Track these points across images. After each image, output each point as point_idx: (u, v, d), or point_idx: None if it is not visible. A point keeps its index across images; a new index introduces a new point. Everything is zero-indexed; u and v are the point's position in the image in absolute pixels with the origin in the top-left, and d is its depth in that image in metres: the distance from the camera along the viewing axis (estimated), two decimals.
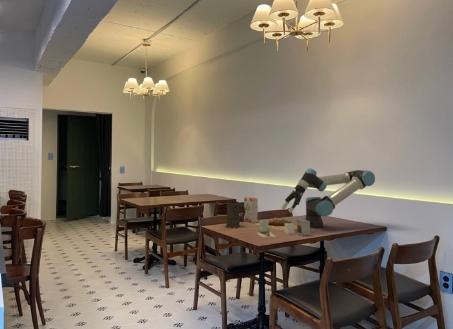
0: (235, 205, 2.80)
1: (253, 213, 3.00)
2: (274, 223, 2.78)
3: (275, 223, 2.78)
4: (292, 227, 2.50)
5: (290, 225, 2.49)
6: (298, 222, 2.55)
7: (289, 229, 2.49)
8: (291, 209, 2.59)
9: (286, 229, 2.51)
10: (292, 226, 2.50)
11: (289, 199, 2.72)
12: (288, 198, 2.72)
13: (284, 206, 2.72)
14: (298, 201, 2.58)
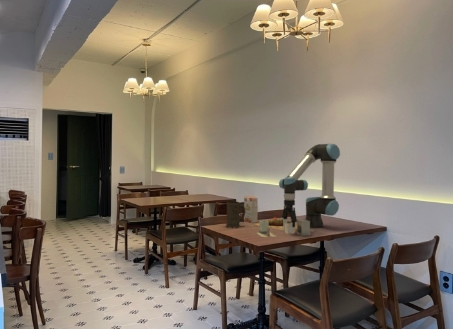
0: (235, 205, 2.80)
1: (253, 213, 3.00)
2: (274, 223, 2.78)
3: (275, 223, 2.78)
4: None
5: (290, 225, 2.49)
6: (298, 222, 2.55)
7: (289, 229, 2.49)
8: (293, 228, 2.45)
9: (286, 229, 2.51)
10: None
11: (285, 215, 2.57)
12: (284, 215, 2.57)
13: None
14: (294, 218, 2.42)
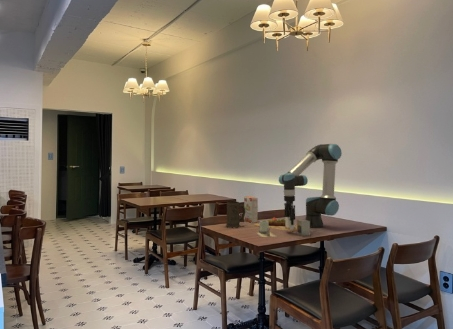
0: (235, 205, 2.80)
1: (253, 213, 3.00)
2: (274, 223, 2.78)
3: (275, 223, 2.78)
4: None
5: None
6: (298, 222, 2.55)
7: None
8: (292, 226, 2.49)
9: (287, 223, 2.51)
10: None
11: (287, 214, 2.54)
12: (286, 214, 2.55)
13: None
14: (293, 216, 2.46)
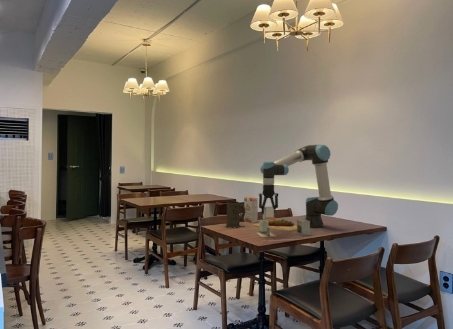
0: (235, 205, 2.80)
1: (253, 213, 3.00)
2: (274, 223, 2.78)
3: (275, 223, 2.77)
4: (265, 210, 2.42)
5: (264, 207, 2.44)
6: (298, 222, 2.55)
7: None
8: (263, 215, 2.43)
9: None
10: (265, 209, 2.42)
11: (272, 204, 2.45)
12: (272, 203, 2.46)
13: None
14: (259, 205, 2.42)
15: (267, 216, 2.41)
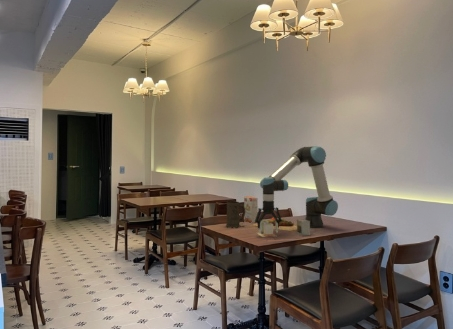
0: (235, 205, 2.80)
1: (253, 213, 3.00)
2: (274, 223, 2.77)
3: None
4: (265, 227, 2.42)
5: (264, 224, 2.44)
6: (298, 222, 2.55)
7: (264, 228, 2.44)
8: (259, 230, 2.43)
9: None
10: (265, 226, 2.42)
11: (274, 218, 2.45)
12: None
13: (276, 228, 2.45)
14: (256, 219, 2.42)
15: (267, 233, 2.41)
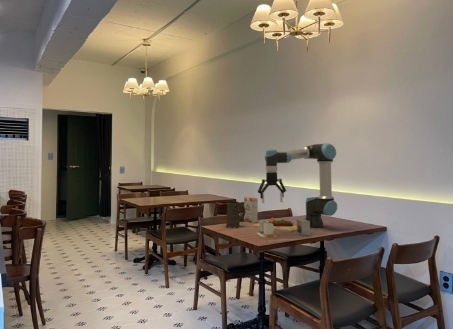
0: (235, 205, 2.80)
1: (253, 213, 3.00)
2: (274, 223, 2.77)
3: (275, 223, 2.77)
4: (265, 227, 2.42)
5: (264, 224, 2.44)
6: (298, 222, 2.55)
7: (264, 228, 2.44)
8: (262, 200, 2.48)
9: None
10: (265, 226, 2.42)
11: (279, 189, 2.51)
12: (279, 188, 2.52)
13: (280, 198, 2.51)
14: (259, 189, 2.47)
15: (267, 233, 2.41)
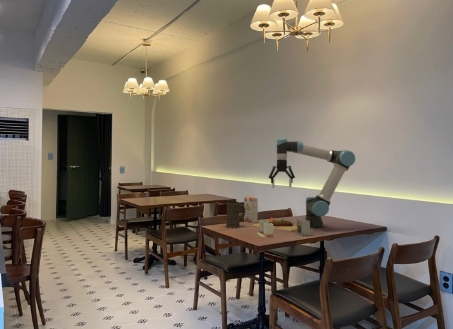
0: (235, 205, 2.80)
1: (253, 213, 3.00)
2: (274, 223, 2.77)
3: (275, 223, 2.77)
4: (265, 227, 2.42)
5: (264, 224, 2.44)
6: (298, 222, 2.55)
7: (264, 228, 2.44)
8: (272, 185, 2.69)
9: None
10: (265, 226, 2.42)
11: (288, 175, 2.72)
12: (288, 175, 2.73)
13: (289, 184, 2.72)
14: (270, 175, 2.68)
15: (267, 233, 2.41)
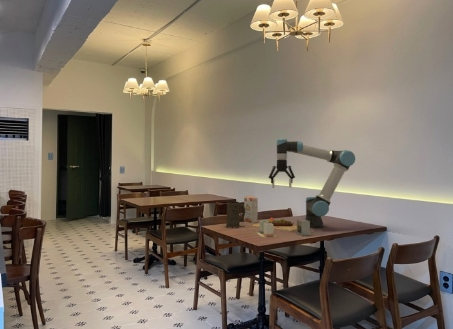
0: (235, 205, 2.80)
1: (253, 213, 3.00)
2: (274, 223, 2.77)
3: (275, 223, 2.77)
4: (265, 227, 2.42)
5: (264, 224, 2.44)
6: (298, 222, 2.55)
7: (264, 228, 2.44)
8: (272, 185, 2.69)
9: None
10: (265, 226, 2.42)
11: (288, 175, 2.72)
12: (288, 175, 2.73)
13: (289, 184, 2.72)
14: (270, 175, 2.68)
15: (267, 233, 2.41)
